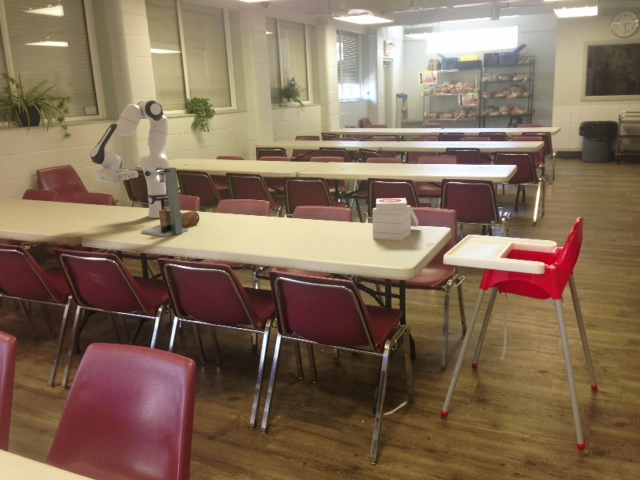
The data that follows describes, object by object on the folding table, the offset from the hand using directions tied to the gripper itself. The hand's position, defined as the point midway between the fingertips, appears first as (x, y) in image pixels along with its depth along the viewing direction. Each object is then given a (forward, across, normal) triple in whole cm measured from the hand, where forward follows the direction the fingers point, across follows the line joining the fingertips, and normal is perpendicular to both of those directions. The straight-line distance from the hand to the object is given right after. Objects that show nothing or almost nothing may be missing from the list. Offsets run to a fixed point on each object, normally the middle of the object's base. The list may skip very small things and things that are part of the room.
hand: (129, 176), depth 326 cm
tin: (+26, +18, +30) cm, 44 cm away
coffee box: (+11, +18, +30) cm, 37 cm away
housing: (+28, +1, +28) cm, 40 cm away
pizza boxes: (+140, +56, +31) cm, 154 cm away
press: (+27, -3, +30) cm, 40 cm away
